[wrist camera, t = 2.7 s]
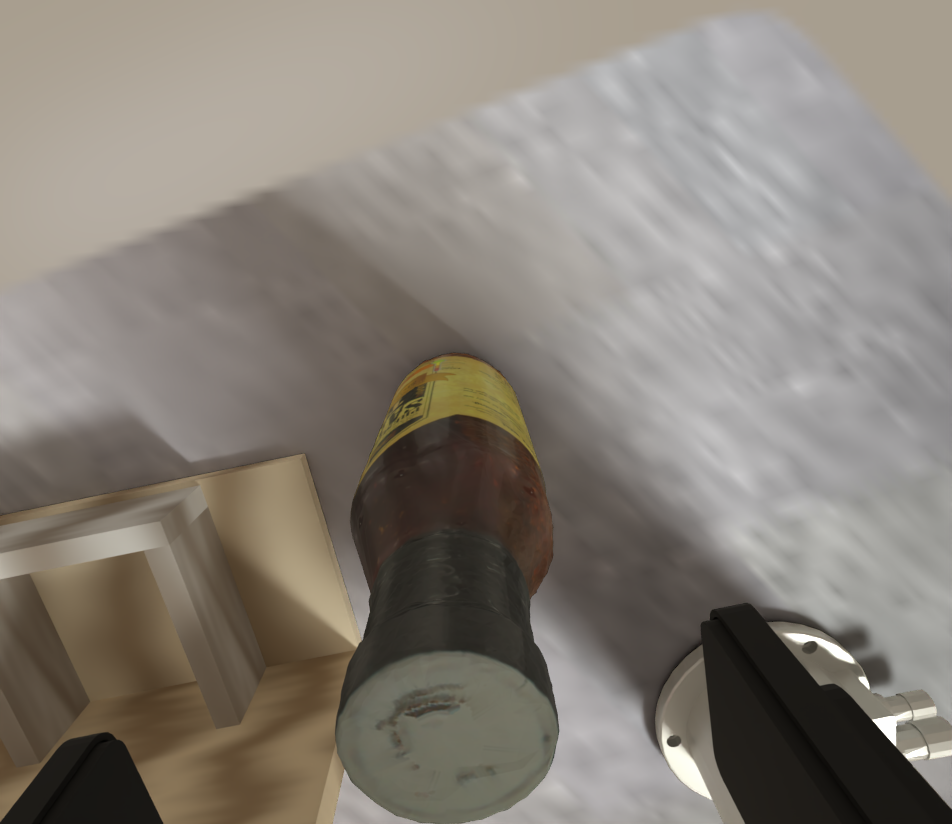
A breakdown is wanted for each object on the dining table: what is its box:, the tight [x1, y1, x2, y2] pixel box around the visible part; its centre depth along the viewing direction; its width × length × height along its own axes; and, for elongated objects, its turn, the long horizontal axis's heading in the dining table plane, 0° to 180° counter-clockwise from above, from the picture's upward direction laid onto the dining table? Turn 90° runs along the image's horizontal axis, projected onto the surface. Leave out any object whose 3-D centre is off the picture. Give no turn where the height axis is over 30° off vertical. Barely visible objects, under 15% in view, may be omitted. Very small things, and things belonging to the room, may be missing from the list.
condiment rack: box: [0, 453, 362, 824], centre depth 25 cm, size 22×13×12 cm, turn 101°
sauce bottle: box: [335, 353, 559, 824], centre depth 19 cm, size 6×6×20 cm
